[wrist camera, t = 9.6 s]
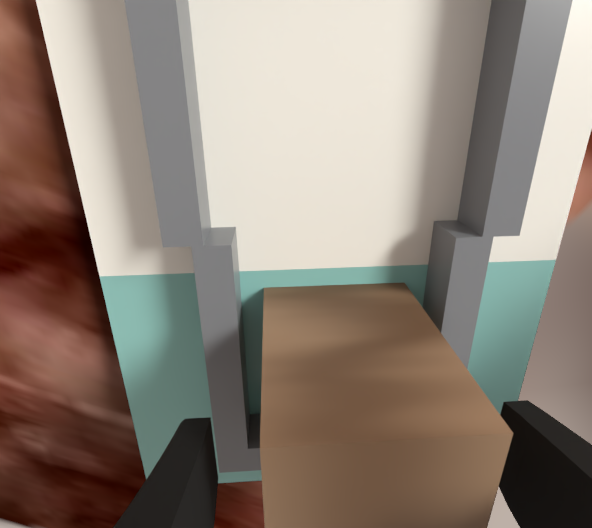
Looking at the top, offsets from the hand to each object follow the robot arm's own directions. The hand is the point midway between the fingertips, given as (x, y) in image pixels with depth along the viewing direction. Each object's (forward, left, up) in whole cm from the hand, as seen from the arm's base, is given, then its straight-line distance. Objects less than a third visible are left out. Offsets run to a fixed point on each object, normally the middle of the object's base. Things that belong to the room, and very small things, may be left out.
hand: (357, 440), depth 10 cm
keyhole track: (0, -4, -5) cm, 6 cm away
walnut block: (0, 0, -4) cm, 4 cm away
